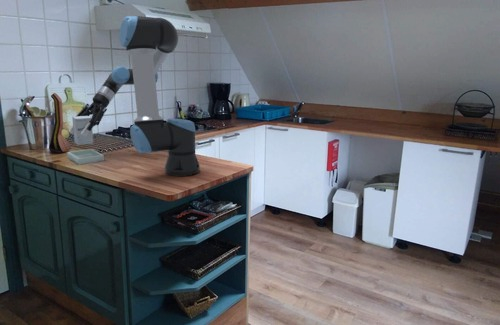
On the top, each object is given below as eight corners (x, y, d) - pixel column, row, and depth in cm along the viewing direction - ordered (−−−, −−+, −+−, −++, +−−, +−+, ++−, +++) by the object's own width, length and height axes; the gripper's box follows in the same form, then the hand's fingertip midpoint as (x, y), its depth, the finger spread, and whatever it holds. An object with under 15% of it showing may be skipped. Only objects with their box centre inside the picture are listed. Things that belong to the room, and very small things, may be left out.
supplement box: (77, 145, 184) (74, 118, 181) (74, 142, 190) (71, 116, 187) (93, 143, 188) (91, 117, 185) (90, 140, 194) (88, 115, 191)
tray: (104, 160, 189) (103, 155, 188) (78, 164, 181) (77, 158, 180) (92, 154, 200) (91, 148, 200) (67, 157, 193) (67, 152, 192)
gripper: (122, 104, 191) (96, 141, 182) (95, 100, 202) (69, 135, 194) (112, 94, 185) (85, 132, 176) (84, 90, 197) (58, 126, 188)
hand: (77, 134), depth 185 cm, fingers closed on supplement box, 9 cm apart
